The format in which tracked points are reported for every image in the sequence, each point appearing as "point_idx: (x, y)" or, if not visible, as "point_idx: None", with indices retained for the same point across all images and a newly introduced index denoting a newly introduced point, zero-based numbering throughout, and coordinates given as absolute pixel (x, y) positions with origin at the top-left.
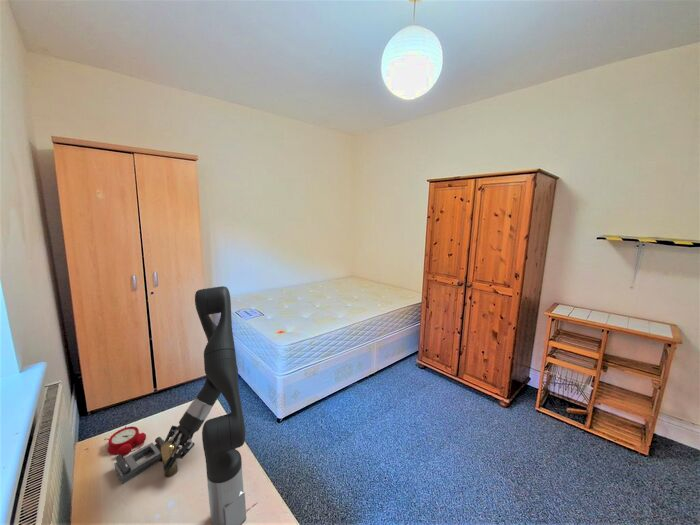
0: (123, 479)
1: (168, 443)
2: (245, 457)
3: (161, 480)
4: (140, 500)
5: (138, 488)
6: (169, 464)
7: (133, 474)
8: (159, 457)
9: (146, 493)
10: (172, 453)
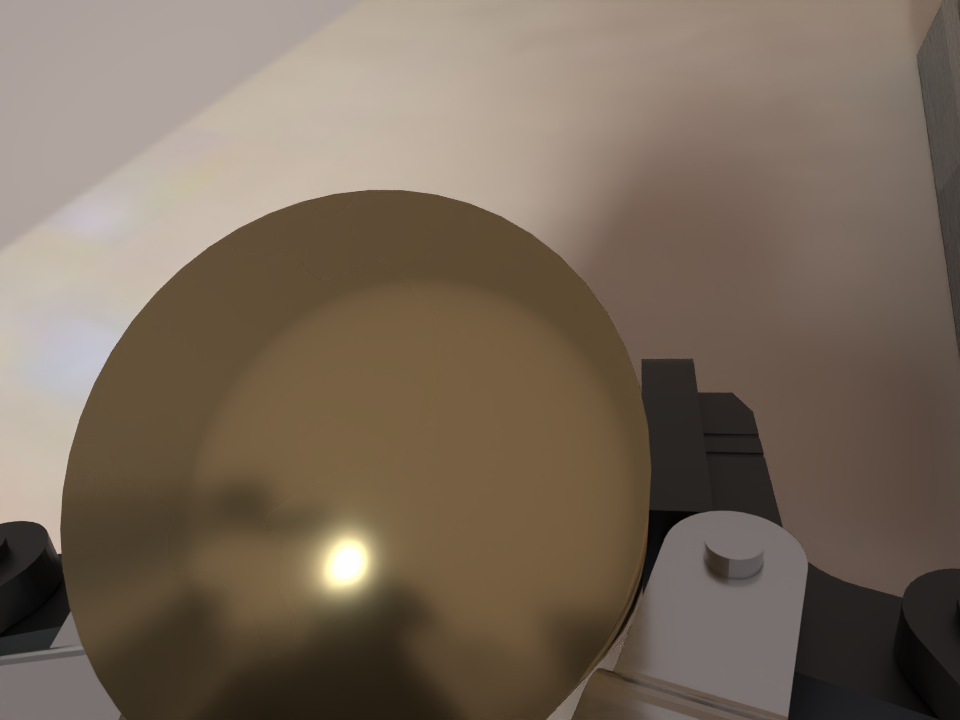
0: (942, 20)
1: (405, 533)
2: None
3: None
4: (438, 149)
5: (647, 172)
6: None
7: (951, 144)
8: (739, 403)
9: None
10: None
